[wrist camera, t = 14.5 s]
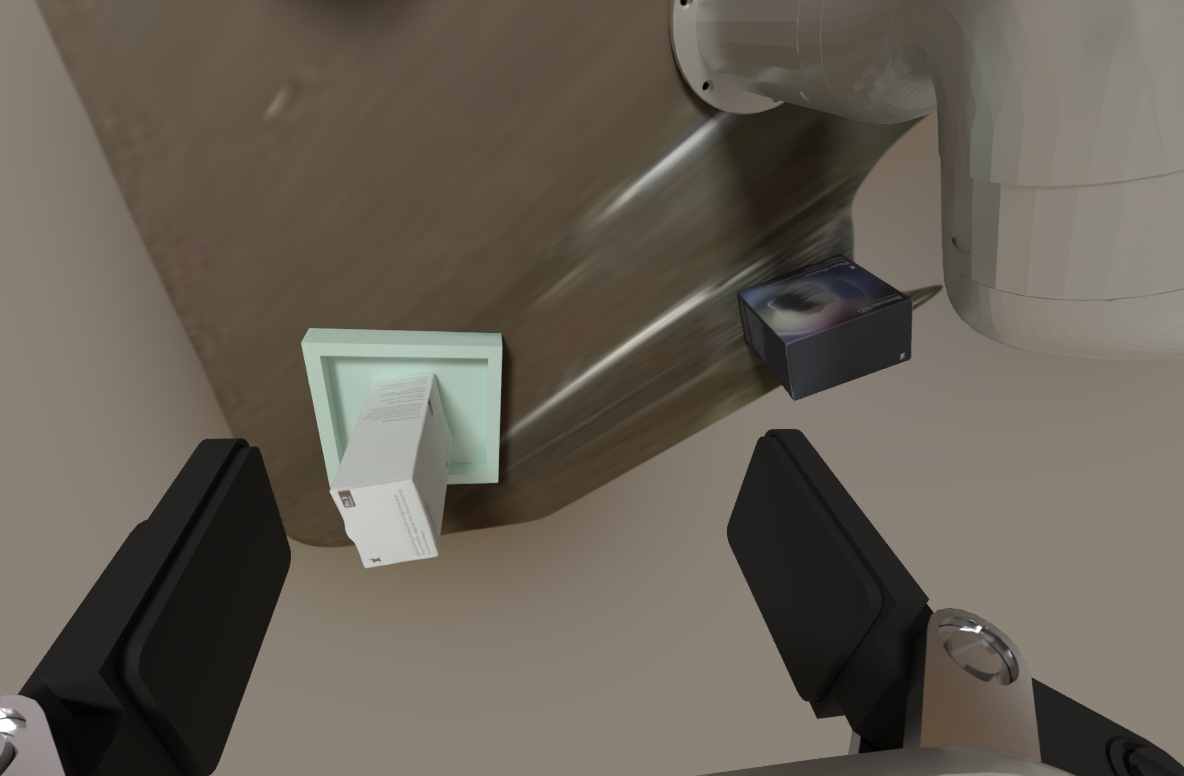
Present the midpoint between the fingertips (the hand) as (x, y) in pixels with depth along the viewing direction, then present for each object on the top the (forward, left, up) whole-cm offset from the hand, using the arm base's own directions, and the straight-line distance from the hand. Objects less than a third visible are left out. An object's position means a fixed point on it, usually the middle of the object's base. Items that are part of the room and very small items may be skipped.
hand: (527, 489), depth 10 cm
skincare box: (+7, +24, -36) cm, 43 cm away
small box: (-29, +11, -36) cm, 48 cm away
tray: (+7, +24, -36) cm, 44 cm away
